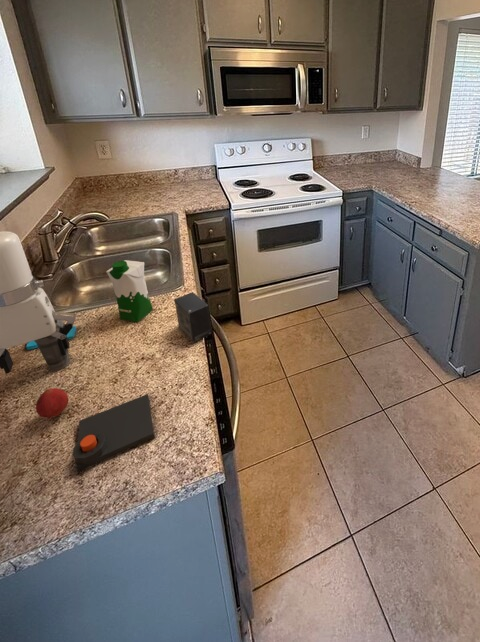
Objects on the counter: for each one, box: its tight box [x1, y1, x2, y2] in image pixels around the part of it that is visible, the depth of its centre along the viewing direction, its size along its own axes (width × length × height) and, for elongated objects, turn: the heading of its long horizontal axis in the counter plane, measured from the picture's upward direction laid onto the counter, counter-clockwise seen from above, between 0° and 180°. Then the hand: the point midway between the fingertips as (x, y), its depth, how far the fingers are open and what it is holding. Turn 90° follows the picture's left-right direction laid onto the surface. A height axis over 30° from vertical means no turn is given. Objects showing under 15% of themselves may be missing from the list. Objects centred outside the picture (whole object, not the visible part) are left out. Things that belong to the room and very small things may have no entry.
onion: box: [35, 386, 69, 419], centre depth 81 cm, size 6×6×8 cm
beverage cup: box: [34, 320, 71, 372], centre depth 94 cm, size 7×7×20 cm
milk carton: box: [105, 259, 154, 323], centre depth 115 cm, size 9×9×20 cm
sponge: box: [25, 325, 77, 351], centre depth 107 cm, size 2×12×6 cm
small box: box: [173, 291, 213, 344], centre depth 108 cm, size 11×6×10 cm, turn 44°
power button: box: [80, 435, 97, 452], centre depth 72 cm, size 3×3×2 cm
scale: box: [72, 393, 155, 473], centre depth 78 cm, size 14×12×3 cm
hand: (38, 359), depth 77 cm, fingers open, 9 cm apart
